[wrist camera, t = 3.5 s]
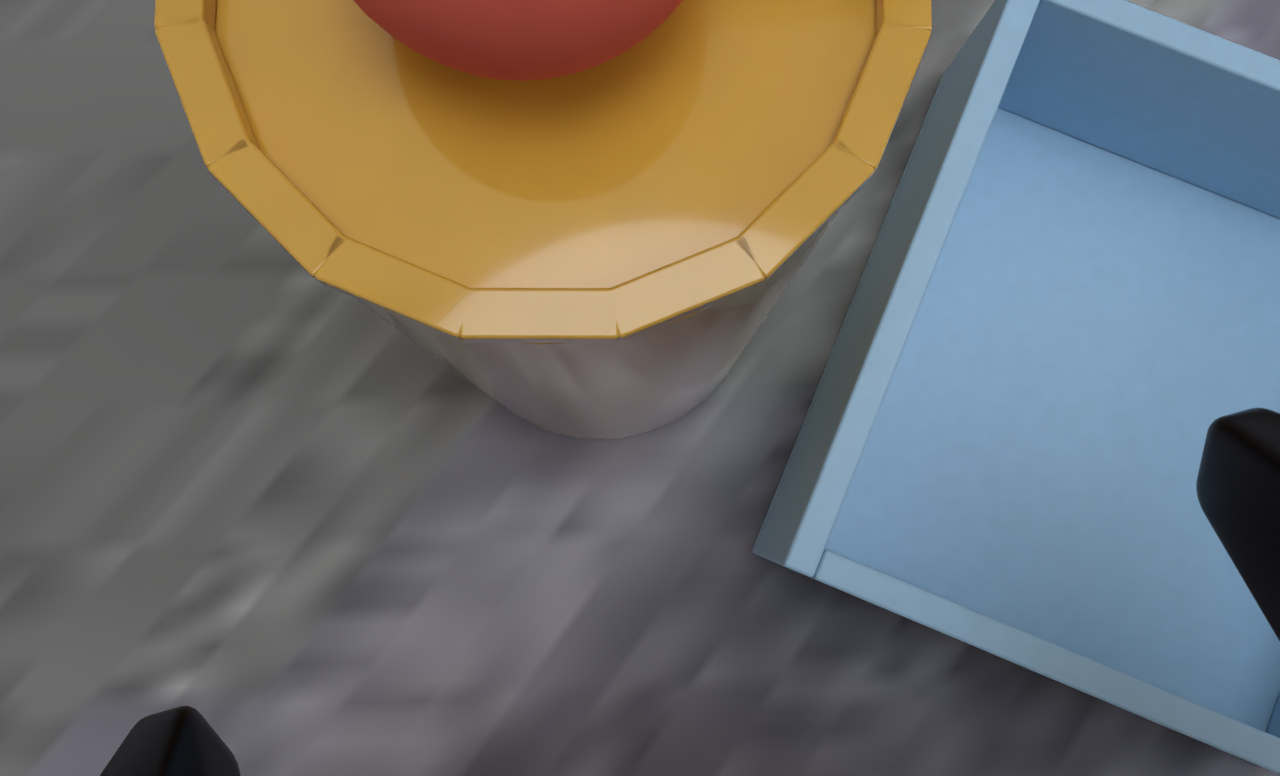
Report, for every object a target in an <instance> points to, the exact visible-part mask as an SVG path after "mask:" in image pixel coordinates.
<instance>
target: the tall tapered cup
mask: <svg viewBox="0 0 1280 776" xmlns="http://www.w3.org/2000/svg"><path fill="white" fill-rule="evenodd" d="M154 26H155V34H156V36H157V39H158V42H159V44H160V47H161V50H162V52H163V55H164V57H165V60H166V63H167V65H168V68H169V71H170V73H171V76H172V79H173V81H174V84H175V87H176V89H177V92H178V95H179V97H180V100H181V103H182V105H183V108H184V111H185V113H186V116H187V119H188V121H189V124H190V127H191V129H192V132H193V135H194V137H195V140H196V143H197V145H198V148H199V151H200V153H201V156H202V159H203V161H204V164H205V166H206V167H207V168H208V170H209V172H210V173H211V174H212V175H213V176H214V177H215V178H216V179H217V180H218V181H219V182H220V183H221V184H222V185H223V186H224V187H225V188H226V189H227V190H228V191H229V192H230V193H231V194H232V195H233V196H234V197H235V198H236V200H237V201H238V202H239V203H240V204H241V205H242V206H243V207H244V208H245V209H246V210H247V211H248V212H249V213H250V214H251V215H252V216H253V217H254V218H255V219H256V220H257V221H258V222H259V223H260V224H261V225H262V226H263V227H264V228H265V229H266V230H267V231H268V232H269V233H270V234H271V235H272V236H273V237H274V238H275V239H276V240H277V241H278V242H279V243H280V245H281V246H282V247H283V248H284V249H285V250H286V251H287V252H288V253H289V254H290V255H291V256H292V257H293V258H294V259H295V260H296V261H297V262H298V263H299V264H300V265H301V266H302V267H303V268H304V269H305V270H306V271H307V272H308V273H309V274H310V275H311V276H312V277H314V278H315V279H317V280H318V281H320V282H321V283H322V284H324V285H326V286H328V287H331V288H333V289H336V290H338V291H340V292H343V293H345V294H348V295H350V296H352V297H353V298H355V299H356V300H357V301H359V302H360V303H361V304H363V305H364V306H366V307H367V308H368V309H370V310H371V311H372V312H374V313H375V314H377V315H378V316H379V317H381V318H382V319H383V320H385V321H386V322H388V323H389V324H390V325H392V326H393V327H394V328H396V329H397V330H399V331H400V332H401V333H403V334H404V335H405V336H407V337H408V338H410V339H411V340H412V341H414V342H415V343H416V344H418V345H419V346H421V347H422V348H423V349H425V350H426V351H427V352H429V353H430V354H432V355H433V356H434V357H436V358H437V359H438V360H440V361H441V362H443V363H444V364H445V365H447V366H448V367H449V368H451V369H452V370H454V371H455V372H456V373H458V374H459V375H460V376H462V377H463V378H465V379H466V380H467V381H469V382H470V383H471V384H473V385H474V386H475V387H477V388H478V389H480V390H481V391H482V392H484V393H485V394H486V395H488V396H489V397H491V398H492V399H493V400H495V401H496V402H497V403H499V404H500V405H502V406H503V407H504V408H506V409H507V410H509V411H510V412H512V413H513V414H515V415H516V416H518V417H519V418H521V419H523V420H525V421H527V422H529V423H531V424H533V425H535V426H537V427H539V428H542V429H545V430H547V431H550V432H553V433H556V434H560V435H565V436H569V437H574V438H581V439H595V440H604V439H620V438H625V437H630V436H635V435H640V434H643V433H646V432H649V431H652V430H655V429H658V428H661V427H663V426H665V425H667V424H669V423H671V422H673V421H675V420H677V419H679V418H680V417H682V416H683V415H685V414H686V413H688V412H690V411H691V410H693V409H694V408H696V407H697V406H698V405H699V404H700V403H701V402H702V401H704V400H705V399H706V398H707V397H708V396H709V395H710V394H711V393H712V392H713V391H714V390H715V389H716V388H717V387H718V385H719V384H720V383H721V382H722V381H723V380H724V379H725V377H726V376H727V374H728V373H729V371H730V370H731V368H732V367H733V365H734V364H735V362H736V361H737V360H738V358H739V357H740V355H741V354H742V352H743V351H744V349H745V348H746V346H747V345H748V343H749V342H750V341H751V339H752V338H753V336H754V335H755V333H756V332H757V330H758V329H759V327H760V326H761V324H762V323H763V321H764V320H765V319H766V317H767V316H768V314H769V313H770V311H771V310H772V308H773V307H774V305H775V304H776V302H777V301H778V299H779V298H780V297H781V295H782V294H783V292H784V291H785V289H786V288H787V286H788V285H789V283H790V282H791V280H792V279H793V278H794V276H795V275H796V273H797V272H798V270H799V269H800V267H801V266H802V264H803V263H804V261H805V260H806V258H807V257H808V256H809V254H810V253H811V251H812V250H813V248H814V247H815V245H816V244H817V242H818V241H819V239H820V238H821V236H822V235H823V234H824V232H825V231H826V229H827V228H828V226H829V225H830V223H831V222H832V220H833V219H834V217H835V216H836V215H837V213H838V212H839V210H840V209H841V208H842V207H843V206H844V205H845V204H846V203H847V202H848V201H849V200H850V199H851V198H852V197H853V196H854V195H855V194H856V193H857V192H858V191H859V190H860V189H861V188H862V187H863V186H864V185H865V184H866V183H867V182H868V181H869V179H870V178H871V177H872V175H873V174H874V172H875V171H876V169H877V168H878V166H879V163H880V161H881V158H882V156H883V153H884V151H885V148H886V146H887V143H888V141H889V138H890V136H891V133H892V131H893V129H894V126H895V124H896V121H897V119H898V116H899V114H900V111H901V109H902V106H903V104H904V101H905V99H906V96H907V94H908V91H909V89H910V86H911V84H912V81H913V79H914V76H915V74H916V72H917V69H918V67H919V64H920V62H921V59H922V57H923V54H924V52H925V49H926V47H927V44H928V42H929V39H930V37H931V30H932V5H931V0H683V1H682V2H681V3H680V5H679V6H678V7H677V8H676V9H675V10H674V11H673V13H672V14H671V15H670V16H669V17H668V18H667V19H666V20H665V21H664V22H663V23H662V24H661V25H660V26H659V27H658V28H657V29H656V30H654V31H653V32H652V33H651V34H650V35H648V36H647V37H646V38H645V39H644V40H643V41H641V42H639V43H638V44H636V45H635V46H633V47H632V48H630V49H629V50H627V51H626V52H624V53H623V54H621V55H619V56H617V57H615V58H613V59H611V60H609V61H606V62H604V63H602V64H600V65H598V66H595V67H592V68H589V69H586V70H584V71H581V72H578V73H575V74H570V75H565V76H560V77H556V78H551V79H540V80H528V81H518V80H498V79H492V78H486V77H481V76H475V75H472V74H468V73H465V72H462V71H459V70H455V69H452V68H450V67H447V66H445V65H442V64H440V63H438V62H436V61H434V60H431V59H429V58H427V57H425V56H423V55H420V54H418V53H417V52H415V51H414V50H412V49H410V48H409V47H407V46H406V45H404V44H402V43H401V42H399V41H398V40H396V39H395V38H394V37H393V36H391V35H390V34H389V33H388V32H386V31H385V30H384V29H383V28H382V27H380V26H379V25H378V24H377V23H376V22H374V21H373V20H372V19H371V18H370V17H368V16H367V15H366V14H365V13H364V12H363V11H362V9H361V8H360V7H359V6H358V5H357V4H356V3H355V2H354V1H353V0H156V4H155V21H154Z"/></svg>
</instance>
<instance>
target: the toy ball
mask: <svg viewBox="0 0 1280 776" xmlns="http://www.w3.org/2000/svg"><path fill="white" fill-rule="evenodd" d="M353 1H354V2H355V3H356V4H357V5H358V6H359V7H360V8H361V9H362V11H363V12H364V13H365V14H366V15H367V16H368V17H370V18H371V19H372V20H373V21H374V22H376V23H377V24H378V25H379V26H380V27H382V28H383V29H384V30H385V31H386V32H388V33H389V34H390V35H391V36H393V37H394V38H395V39H396V40H398V41H399V42H401V43H402V44H404V45H406V46H407V47H409V48H410V49H412V50H414V51H415V52H417V53H418V54H420V55H423V56H425V57H427V58H429V59H431V60H434V61H436V62H438V63H440V64H442V65H445V66H447V67H450V68H452V69H455V70H459V71H462V72H465V73H468V74H472V75H475V76H481V77H486V78H492V79H498V80H518V81H528V80H540V79H551V78H556V77H560V76H565V75H570V74H575V73H578V72H581V71H584V70H586V69H589V68H592V67H595V66H598V65H600V64H602V63H604V62H606V61H609V60H611V59H613V58H615V57H617V56H619V55H621V54H623V53H624V52H626V51H627V50H629V49H630V48H632V47H633V46H635V45H636V44H638V43H639V42H641V41H643V40H644V39H645V38H646V37H647V36H648V35H650V34H651V33H652V32H653V31H654V30H656V29H657V28H658V27H659V26H660V25H661V24H662V23H663V22H664V21H665V20H666V19H667V18H668V17H669V16H670V15H671V14H672V13H673V11H674V10H675V9H676V8H677V7H678V6H679V5H680V3H681V2H682V1H683V0H353Z"/></svg>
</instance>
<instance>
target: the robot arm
mask: <svg viewBox="0 0 1280 776" xmlns="http://www.w3.org/2000/svg"><path fill="white" fill-rule="evenodd" d="M1196 491H1197V497H1198V501H1199V503H1200V506H1201V508H1202V510H1203V512H1204V514H1205V516H1206V518H1207V519H1208V521H1209V523H1210V524H1211V526H1212V528H1213V529H1214V531H1215V533H1216V535H1217V536H1218V538H1219V540H1220V541H1221V543H1222V545H1223V546H1224V548H1225V550H1226V552H1227V553H1228V555H1229V557H1230V558H1231V560H1232V562H1233V563H1234V565H1235V567H1236V569H1237V570H1238V572H1239V574H1240V575H1241V577H1242V579H1243V580H1244V582H1245V584H1246V586H1247V587H1248V589H1249V591H1250V592H1251V594H1252V596H1253V597H1254V599H1255V601H1256V603H1257V604H1258V606H1259V608H1260V609H1261V611H1262V613H1263V614H1264V616H1265V618H1266V619H1267V621H1268V623H1269V625H1270V626H1271V628H1272V630H1273V631H1274V633H1275V635H1276V636H1277V638H1278V639H1279V641H1280V413H1278V412H1275V411H1272V410H1269V409H1266V408H1251V409H1247V410H1243V411H1240V412H1236V413H1232V414H1229V415H1225V416H1222V417H1219V418H1217V419H1215V420H1214V421H1213V422H1212V423H1211V425H1210V426H1209V428H1208V431H1207V435H1206V439H1205V444H1204V449H1203V453H1202V458H1201V462H1200V467H1199V471H1198V476H1197V481H1196ZM100 776H240V770H239V767H238V764H237V761H236V759H235V757H234V755H233V754H232V752H231V751H230V749H229V748H228V747H227V746H226V745H225V743H224V742H223V741H222V740H221V738H220V737H219V736H218V735H217V733H216V732H215V731H214V730H213V729H212V727H211V726H210V725H209V724H208V722H207V721H206V720H205V719H204V717H203V716H202V715H201V714H200V713H199V712H198V711H197V710H196V709H194V708H192V707H189V706H181V707H177V708H174V709H170V710H166V711H163V712H159V713H156V714H152V715H149V716H147V717H144V718H143V719H141V720H140V721H139V722H138V723H137V724H136V725H135V726H134V727H133V728H132V729H131V731H130V732H129V734H128V735H127V737H126V738H125V740H124V741H123V743H122V744H121V745H120V747H119V748H118V750H117V751H116V753H115V754H114V756H113V757H112V759H111V760H110V762H109V763H108V764H107V766H106V767H105V769H104V770H103V772H102V773H101V775H100Z"/></svg>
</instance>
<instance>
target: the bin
mask: <svg viewBox="0 0 1280 776" xmlns="http://www.w3.org/2000/svg"><path fill="white" fill-rule="evenodd" d="M1251 408H1266V409H1269V410H1272V411H1275V412H1278V413H1280V60H1277V59H1275V58H1272V57H1270V56H1267V55H1265V54H1262V53H1260V52H1257V51H1254V50H1252V49H1249V48H1247V47H1244V46H1242V45H1239V44H1236V43H1234V42H1231V41H1229V40H1226V39H1224V38H1221V37H1218V36H1216V35H1213V34H1211V33H1208V32H1206V31H1203V30H1200V29H1198V28H1195V27H1193V26H1190V25H1188V24H1185V23H1182V22H1180V21H1177V20H1175V19H1172V18H1170V17H1167V16H1165V15H1162V14H1159V13H1157V12H1154V11H1152V10H1149V9H1147V8H1144V7H1141V6H1139V5H1136V4H1134V3H1131V2H1129V1H1126V0H995V2H994V3H993V4H992V6H991V7H990V9H989V10H988V11H987V13H986V14H985V16H984V17H983V19H982V20H981V21H980V23H979V24H978V26H977V27H976V28H975V30H974V31H973V33H972V34H971V36H970V37H969V38H968V40H967V41H966V43H965V44H964V45H963V47H962V48H961V50H960V51H959V52H958V54H957V55H956V57H955V58H954V60H953V61H952V62H951V64H950V65H949V67H948V68H947V69H946V71H945V72H944V74H943V75H942V77H941V80H940V82H939V85H938V87H937V90H936V92H935V95H934V97H933V100H932V102H931V105H930V107H929V110H928V112H927V115H926V117H925V120H924V122H923V125H922V127H921V130H920V132H919V135H918V137H917V140H916V142H915V145H914V147H913V150H912V152H911V155H910V157H909V160H908V162H907V165H906V167H905V170H904V172H903V175H902V177H901V180H900V182H899V185H898V187H897V190H896V192H895V195H894V197H893V200H892V202H891V205H890V207H889V210H888V212H887V215H886V217H885V220H884V222H883V225H882V227H881V230H880V232H879V235H878V237H877V240H876V242H875V245H874V247H873V250H872V252H871V255H870V257H869V260H868V262H867V265H866V267H865V270H864V272H863V275H862V277H861V280H860V282H859V285H858V287H857V290H856V292H855V295H854V297H853V300H852V302H851V305H850V307H849V310H848V312H847V315H846V317H845V320H844V322H843V325H842V327H841V330H840V332H839V335H838V337H837V340H836V342H835V345H834V347H833V350H832V352H831V355H830V357H829V360H828V362H827V365H826V367H825V370H824V372H823V375H822V377H821V380H820V382H819V385H818V387H817V390H816V392H815V395H814V397H813V400H812V402H811V405H810V407H809V410H808V412H807V415H806V417H805V420H804V422H803V425H802V427H801V430H800V432H799V435H798V437H797V440H796V442H795V444H794V447H793V449H792V452H791V454H790V457H789V459H788V462H787V464H786V467H785V469H784V472H783V474H782V477H781V479H780V482H779V484H778V487H777V489H776V492H775V494H774V497H773V499H772V502H771V504H770V507H769V509H768V512H767V514H766V517H765V519H764V522H763V524H762V527H761V529H760V532H759V534H758V537H757V539H756V542H755V544H754V547H753V549H752V553H753V554H755V555H758V556H760V557H762V558H765V559H767V560H769V561H772V562H774V563H776V564H779V565H781V566H784V567H786V568H788V569H791V570H793V571H795V572H798V573H800V574H803V575H805V576H807V577H810V578H812V579H815V580H817V581H819V582H822V583H824V584H826V585H829V586H831V587H834V588H836V589H838V590H841V591H843V592H845V593H848V594H850V595H853V596H855V597H857V598H860V599H862V600H865V601H867V602H869V603H872V604H874V605H876V606H879V607H881V608H884V609H886V610H888V611H891V612H893V613H895V614H898V615H900V616H903V617H905V618H907V619H910V620H912V621H915V622H917V623H919V624H922V625H924V626H926V627H929V628H931V629H934V630H936V631H938V632H941V633H943V634H946V635H948V636H950V637H953V638H955V639H957V640H960V641H962V642H965V643H967V644H969V645H972V646H974V647H976V648H979V649H981V650H984V651H986V652H988V653H991V654H993V655H996V656H998V657H1000V658H1003V659H1005V660H1007V661H1010V662H1012V663H1015V664H1017V665H1019V666H1022V667H1024V668H1027V669H1029V670H1031V671H1034V672H1036V673H1038V674H1041V675H1043V676H1046V677H1048V678H1050V679H1053V680H1055V681H1057V682H1060V683H1062V684H1065V685H1067V686H1069V687H1072V688H1074V689H1077V690H1079V691H1081V692H1084V693H1086V694H1088V695H1091V696H1093V697H1096V698H1098V699H1100V700H1103V701H1105V702H1108V703H1110V704H1112V705H1115V706H1117V707H1119V708H1122V709H1124V710H1127V711H1129V712H1131V713H1134V714H1136V715H1138V716H1141V717H1143V718H1146V719H1148V720H1150V721H1153V722H1155V723H1158V724H1160V725H1162V726H1165V727H1167V728H1169V729H1172V730H1174V731H1177V732H1179V733H1181V734H1184V735H1186V736H1188V737H1191V738H1193V739H1196V740H1198V741H1200V742H1203V743H1205V744H1208V745H1210V746H1212V747H1215V748H1217V749H1219V750H1222V751H1224V752H1227V753H1229V754H1231V755H1234V756H1236V757H1239V758H1241V759H1243V760H1246V761H1248V762H1250V763H1253V764H1255V765H1258V766H1260V767H1262V768H1265V769H1267V770H1269V771H1272V772H1274V773H1277V774H1279V775H1280V641H1279V639H1278V638H1277V636H1276V635H1275V633H1274V631H1273V630H1272V628H1271V626H1270V625H1269V623H1268V621H1267V619H1266V618H1265V616H1264V614H1263V613H1262V611H1261V609H1260V608H1259V606H1258V604H1257V603H1256V601H1255V599H1254V597H1253V596H1252V594H1251V592H1250V591H1249V589H1248V587H1247V586H1246V584H1245V582H1244V580H1243V579H1242V577H1241V575H1240V574H1239V572H1238V570H1237V569H1236V567H1235V565H1234V563H1233V562H1232V560H1231V558H1230V557H1229V555H1228V553H1227V552H1226V550H1225V548H1224V546H1223V545H1222V543H1221V541H1220V540H1219V538H1218V536H1217V535H1216V533H1215V531H1214V529H1213V528H1212V526H1211V524H1210V523H1209V521H1208V519H1207V518H1206V516H1205V514H1204V512H1203V510H1202V508H1201V506H1200V503H1199V501H1198V497H1197V491H1196V481H1197V476H1198V471H1199V467H1200V462H1201V458H1202V453H1203V449H1204V444H1205V439H1206V435H1207V431H1208V428H1209V426H1210V425H1211V423H1212V422H1213V421H1214V420H1215V419H1217V418H1219V417H1222V416H1225V415H1229V414H1232V413H1236V412H1240V411H1243V410H1247V409H1251Z"/></svg>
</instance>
